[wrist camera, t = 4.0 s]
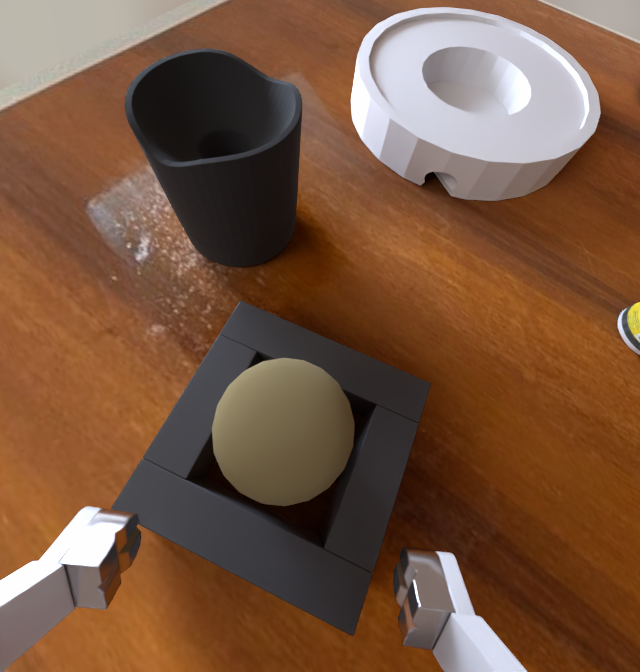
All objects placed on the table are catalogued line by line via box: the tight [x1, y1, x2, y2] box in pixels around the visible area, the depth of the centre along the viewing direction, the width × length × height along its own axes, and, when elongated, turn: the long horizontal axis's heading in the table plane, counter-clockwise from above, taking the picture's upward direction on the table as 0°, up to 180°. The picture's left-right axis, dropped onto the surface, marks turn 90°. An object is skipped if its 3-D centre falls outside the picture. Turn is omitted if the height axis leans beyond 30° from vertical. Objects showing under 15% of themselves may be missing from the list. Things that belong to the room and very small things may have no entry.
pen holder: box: [125, 49, 302, 267], centre depth 22 cm, size 9×9×10 cm
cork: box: [212, 358, 355, 506], centre depth 16 cm, size 6×6×11 cm
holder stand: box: [111, 301, 431, 636], centre depth 19 cm, size 12×12×4 cm
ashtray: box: [351, 7, 601, 201], centre depth 33 cm, size 23×23×4 cm
